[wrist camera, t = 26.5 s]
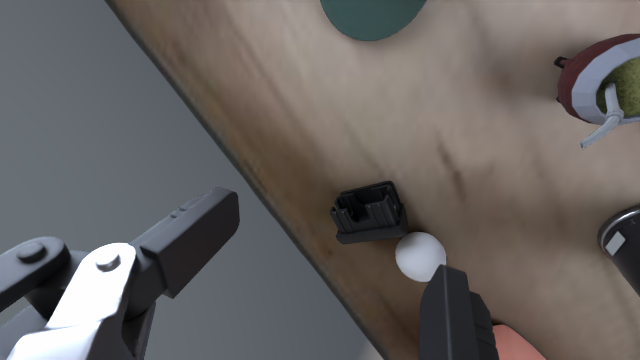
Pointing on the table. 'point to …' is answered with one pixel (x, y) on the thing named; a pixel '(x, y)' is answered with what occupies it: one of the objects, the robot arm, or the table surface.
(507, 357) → the teapot
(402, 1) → the lid
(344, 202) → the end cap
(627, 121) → the mate gourd
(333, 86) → the table surface
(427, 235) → the white sphere
